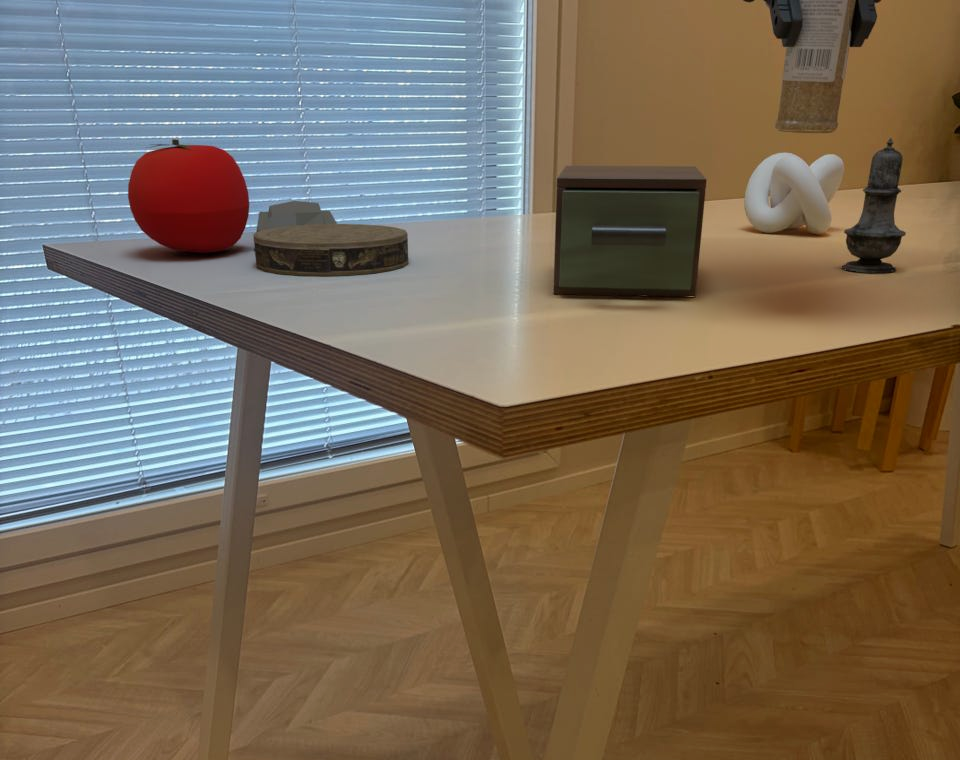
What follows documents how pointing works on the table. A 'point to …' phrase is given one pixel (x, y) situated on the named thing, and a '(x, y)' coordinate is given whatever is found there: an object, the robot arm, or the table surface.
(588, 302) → the table surface
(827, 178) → the white knot sculpture
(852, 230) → the salt shaker
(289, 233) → the tin can
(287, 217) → the soap mold
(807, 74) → the sprinkles bottle
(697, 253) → the cabinet
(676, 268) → the drawer
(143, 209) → the tomato
